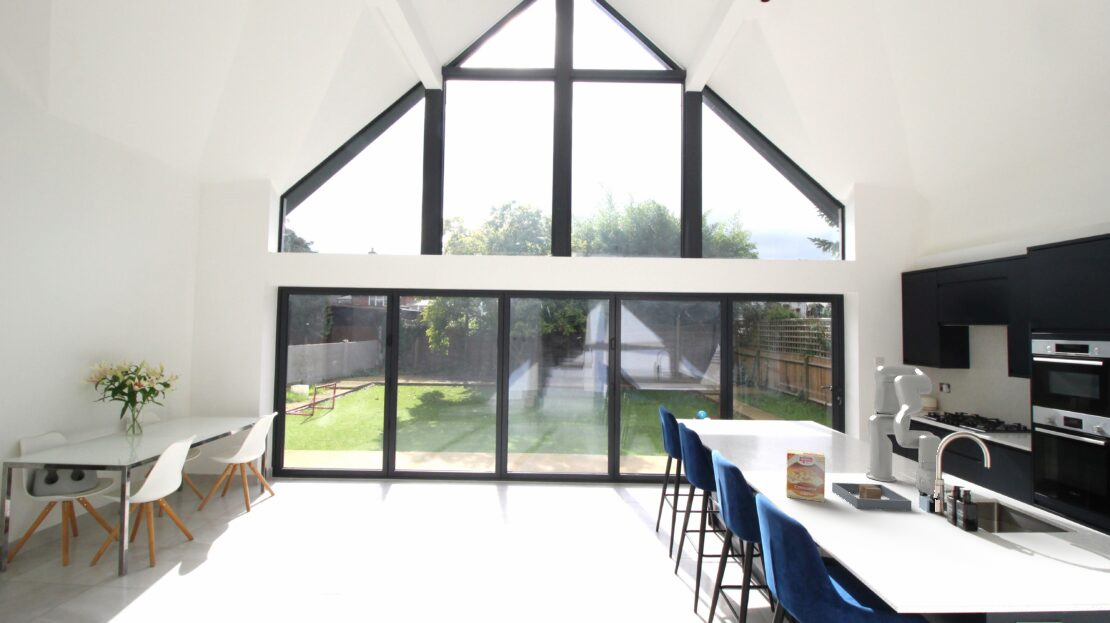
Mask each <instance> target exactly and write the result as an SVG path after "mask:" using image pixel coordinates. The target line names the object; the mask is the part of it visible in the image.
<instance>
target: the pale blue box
mask: <svg viewBox="0 0 1110 623" xmlns="http://www.w3.org/2000/svg"><path fill="white" fill-rule="evenodd" d="M934 498H935V496H933V499H934ZM929 502H931V500H930V495H928V496H920V495H918V508H919V509H920V508H921V509H920V510H922V511H924V512H926V513H931V512H930V511H929Z"/></svg>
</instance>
